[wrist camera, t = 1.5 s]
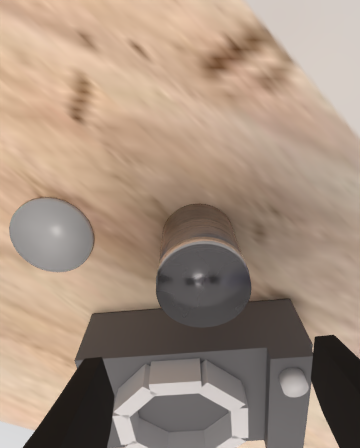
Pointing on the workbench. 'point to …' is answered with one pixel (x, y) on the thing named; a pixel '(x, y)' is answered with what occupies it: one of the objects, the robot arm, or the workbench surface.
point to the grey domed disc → (51, 234)
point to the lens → (201, 268)
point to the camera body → (205, 377)
